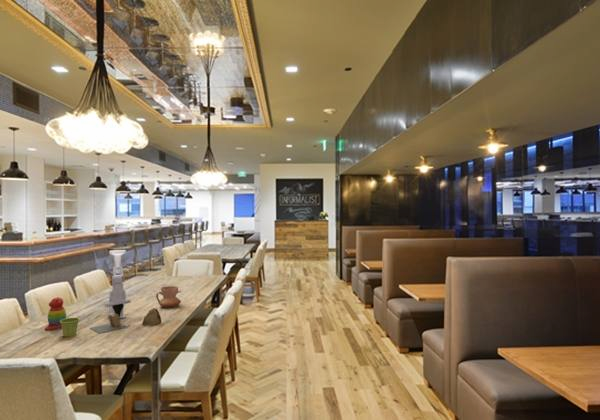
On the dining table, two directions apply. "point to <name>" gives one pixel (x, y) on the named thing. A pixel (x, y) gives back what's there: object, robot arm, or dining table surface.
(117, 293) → the robot arm
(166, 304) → the ceramic jug
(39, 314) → the dining table surface
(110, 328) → the rubber mat
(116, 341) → the dining table surface
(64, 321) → the plant pot
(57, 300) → the stacking bear
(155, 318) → the rock
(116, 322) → the walnut block
